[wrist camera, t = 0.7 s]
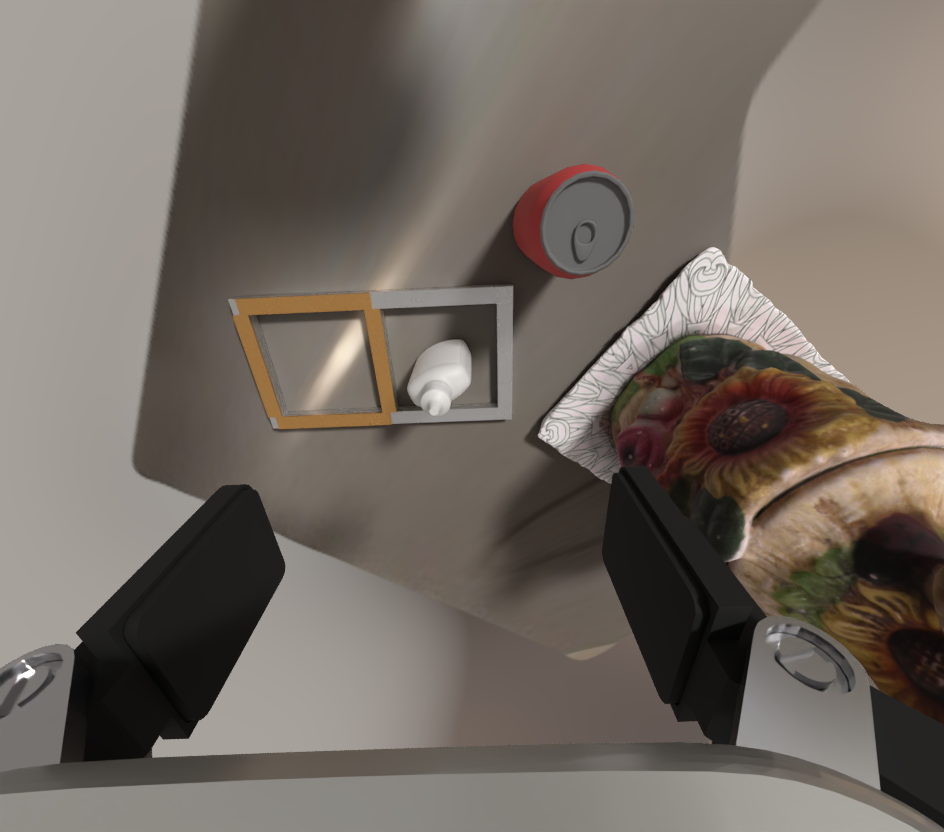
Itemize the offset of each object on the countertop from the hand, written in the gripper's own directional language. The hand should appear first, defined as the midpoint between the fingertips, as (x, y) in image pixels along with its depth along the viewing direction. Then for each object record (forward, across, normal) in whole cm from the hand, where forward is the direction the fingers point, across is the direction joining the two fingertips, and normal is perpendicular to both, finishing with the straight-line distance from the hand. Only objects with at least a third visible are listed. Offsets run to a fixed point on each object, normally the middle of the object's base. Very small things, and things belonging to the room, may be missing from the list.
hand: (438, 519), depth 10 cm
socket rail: (+30, +8, +4) cm, 31 cm away
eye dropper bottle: (+30, +2, +4) cm, 30 cm away
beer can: (+29, -8, -8) cm, 31 cm away
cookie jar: (+30, -24, +12) cm, 40 cm away
